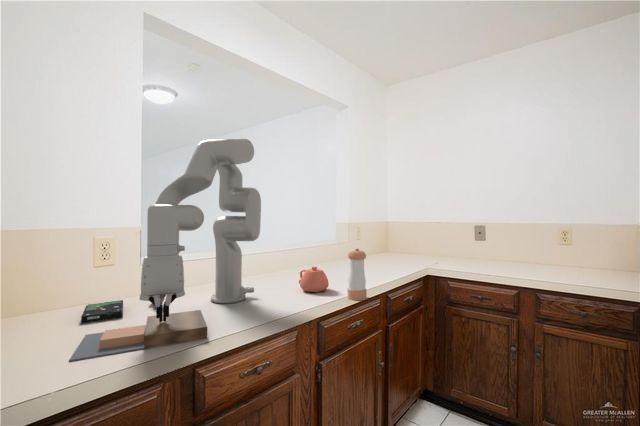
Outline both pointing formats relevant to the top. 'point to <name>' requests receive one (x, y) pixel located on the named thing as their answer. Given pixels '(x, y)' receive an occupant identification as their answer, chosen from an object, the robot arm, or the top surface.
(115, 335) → the block
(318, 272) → the sugar bowl
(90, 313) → the disk drive
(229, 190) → the robot arm
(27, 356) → the top surface
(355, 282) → the pepper shaker
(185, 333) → the block
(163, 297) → the bird figurine
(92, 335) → the mat
